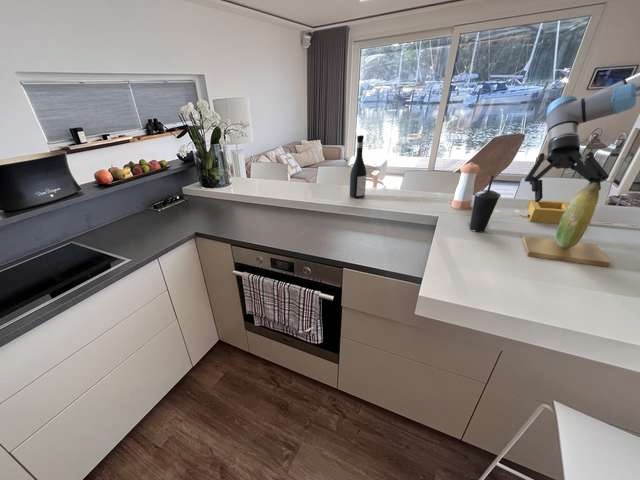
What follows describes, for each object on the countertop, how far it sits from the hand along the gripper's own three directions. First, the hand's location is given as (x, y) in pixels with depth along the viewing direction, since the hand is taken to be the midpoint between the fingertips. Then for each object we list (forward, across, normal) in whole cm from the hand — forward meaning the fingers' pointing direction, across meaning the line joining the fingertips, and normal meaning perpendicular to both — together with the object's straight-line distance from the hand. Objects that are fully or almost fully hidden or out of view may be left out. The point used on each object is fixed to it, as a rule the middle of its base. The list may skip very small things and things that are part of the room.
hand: (565, 200), depth 90 cm
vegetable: (+15, 0, -2) cm, 15 cm away
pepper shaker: (-12, +21, -32) cm, 40 cm away
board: (+16, 0, -3) cm, 17 cm away
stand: (-5, -6, -24) cm, 26 cm away
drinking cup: (+6, +20, -13) cm, 25 cm away
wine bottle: (-20, +68, -40) cm, 81 cm away
